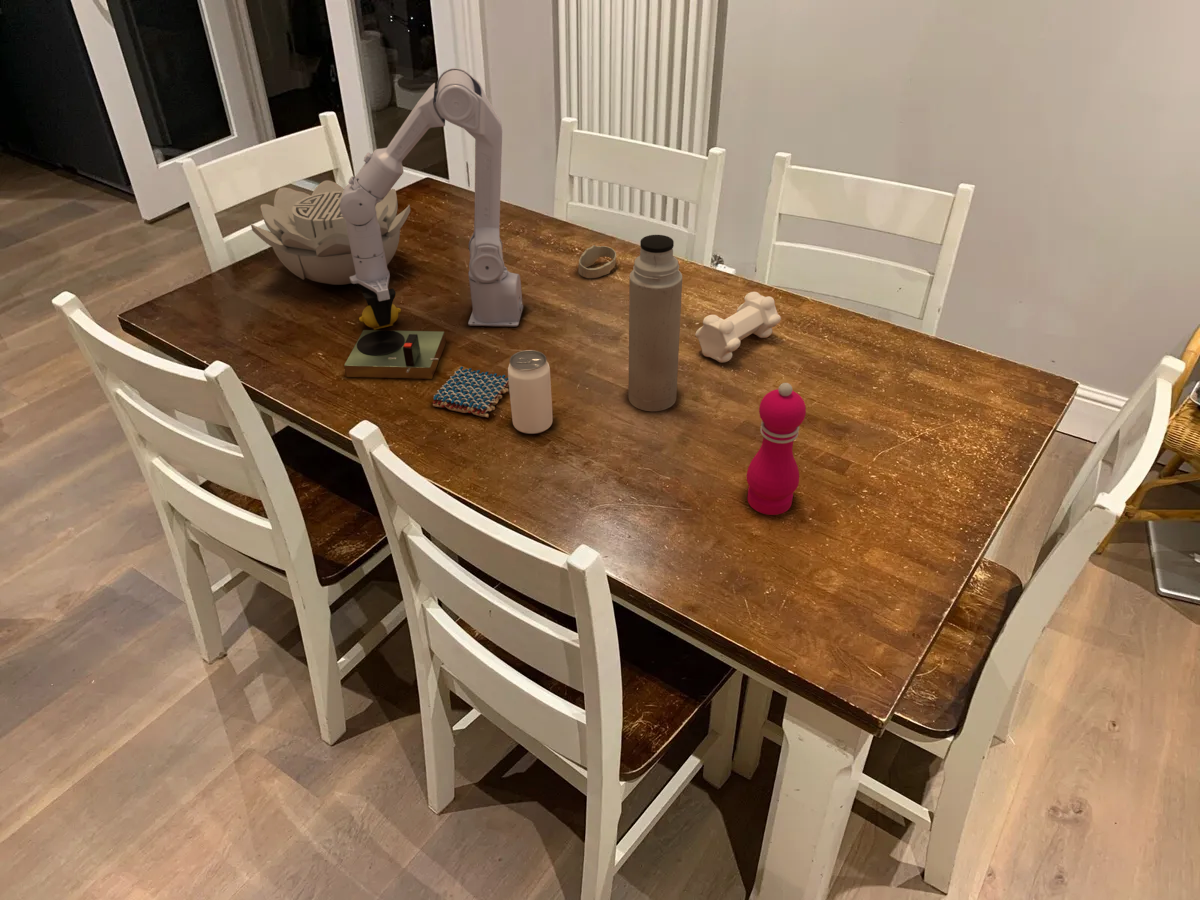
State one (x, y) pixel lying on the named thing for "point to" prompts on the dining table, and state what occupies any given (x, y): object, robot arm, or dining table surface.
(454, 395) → the woven mat
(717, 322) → the bone shaped toy
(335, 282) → the decorative bowl
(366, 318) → the lemon
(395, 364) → the hob
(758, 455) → the pepper mill
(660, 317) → the thermos bottle
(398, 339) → the burner
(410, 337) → the black block
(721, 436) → the dining table surface
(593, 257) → the grey oval ring
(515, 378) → the can
